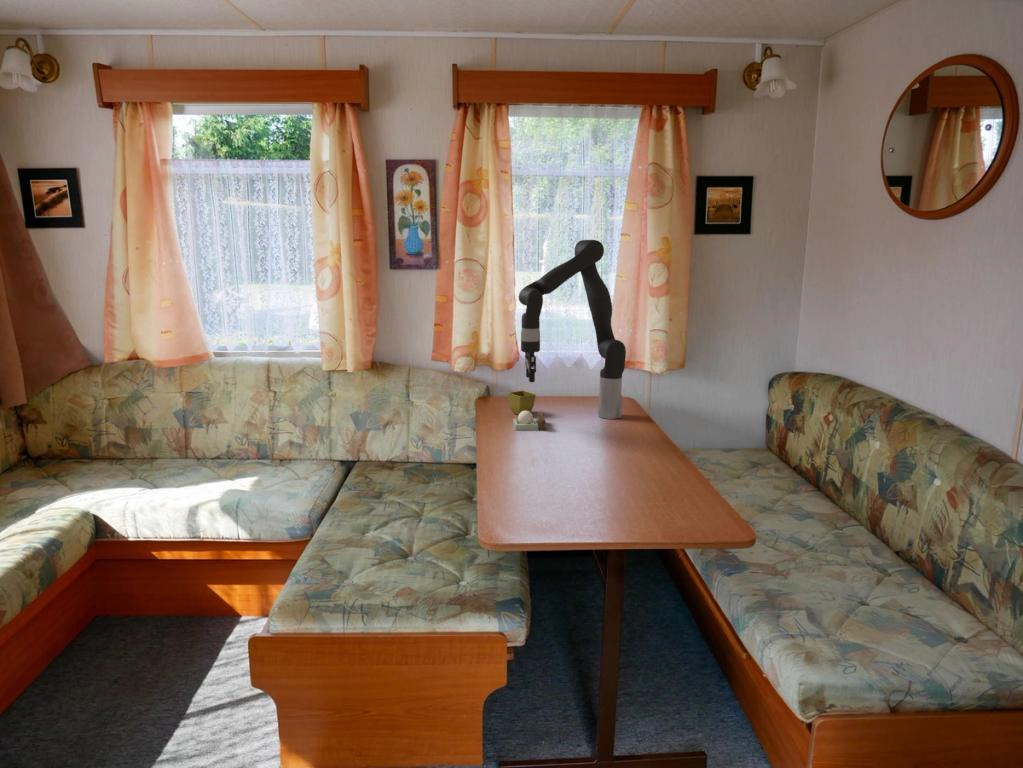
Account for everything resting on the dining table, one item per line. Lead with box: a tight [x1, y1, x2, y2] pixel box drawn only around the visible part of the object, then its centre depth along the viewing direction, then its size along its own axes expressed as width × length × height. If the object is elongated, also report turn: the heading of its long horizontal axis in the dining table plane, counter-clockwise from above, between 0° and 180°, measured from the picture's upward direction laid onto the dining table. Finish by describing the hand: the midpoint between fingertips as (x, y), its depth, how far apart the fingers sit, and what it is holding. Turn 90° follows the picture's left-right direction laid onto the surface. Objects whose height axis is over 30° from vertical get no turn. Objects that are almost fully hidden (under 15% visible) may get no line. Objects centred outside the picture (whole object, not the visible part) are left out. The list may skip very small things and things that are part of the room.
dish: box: [512, 418, 539, 431], centre depth 272 cm, size 9×9×2 cm
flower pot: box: [507, 390, 536, 416], centre depth 291 cm, size 9×9×9 cm
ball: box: [517, 411, 534, 424], centre depth 272 cm, size 6×6×6 cm
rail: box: [536, 412, 548, 432], centre depth 273 cm, size 3×12×4 cm, turn 5°
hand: (530, 379), depth 270 cm, fingers open, 8 cm apart
